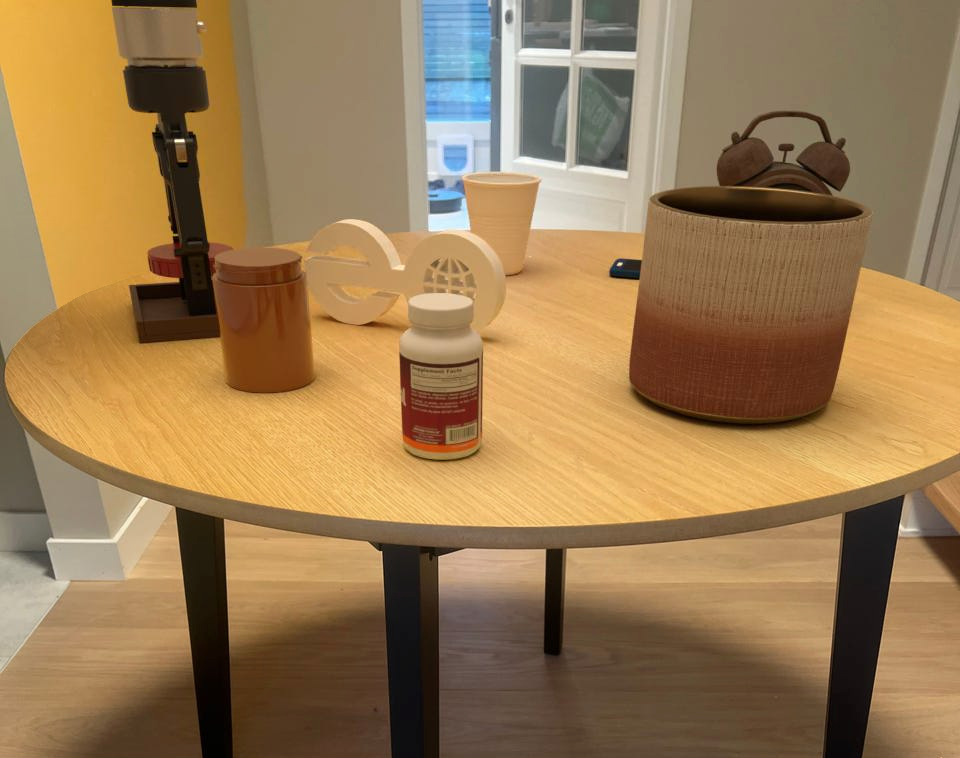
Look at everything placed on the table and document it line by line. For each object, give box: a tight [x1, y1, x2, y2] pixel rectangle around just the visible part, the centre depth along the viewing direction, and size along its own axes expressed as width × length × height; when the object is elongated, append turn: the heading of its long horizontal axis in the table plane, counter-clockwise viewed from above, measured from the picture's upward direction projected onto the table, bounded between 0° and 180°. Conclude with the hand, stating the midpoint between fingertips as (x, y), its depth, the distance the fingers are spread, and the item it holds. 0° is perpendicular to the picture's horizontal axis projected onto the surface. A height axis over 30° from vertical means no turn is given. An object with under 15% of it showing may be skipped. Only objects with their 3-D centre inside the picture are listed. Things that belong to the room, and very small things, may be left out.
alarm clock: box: [716, 110, 851, 196], centre depth 103 cm, size 15×7×20 cm, turn 92°
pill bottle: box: [398, 292, 484, 461], centre depth 70 cm, size 6×6×11 cm
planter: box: [628, 185, 874, 425], centre depth 80 cm, size 18×18×16 cm
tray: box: [128, 281, 220, 344], centre depth 101 cm, size 13×15×2 cm
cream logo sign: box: [304, 218, 507, 333], centre depth 97 cm, size 22×2×10 cm, turn 67°
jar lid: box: [147, 241, 235, 279], centre depth 98 cm, size 9×9×2 cm
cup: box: [461, 171, 543, 276], centre depth 119 cm, size 10×10×11 cm
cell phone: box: [608, 257, 642, 279], centre depth 121 cm, size 7×14×1 cm, turn 75°
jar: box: [212, 247, 316, 394], centre depth 83 cm, size 8×8×10 cm
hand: (199, 309), depth 101 cm, fingers closed on jar lid, 9 cm apart
